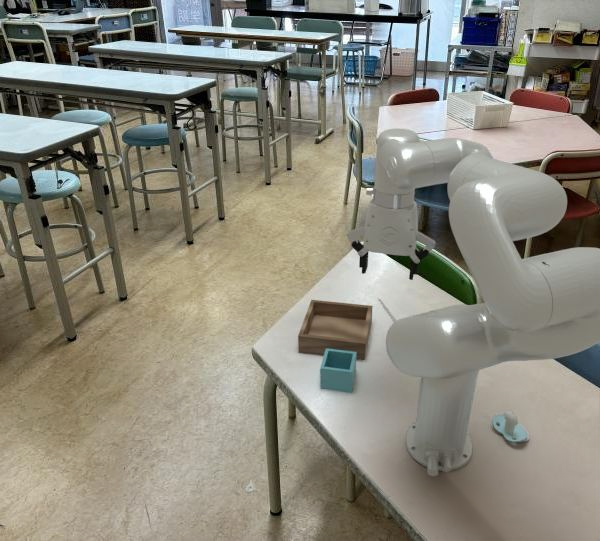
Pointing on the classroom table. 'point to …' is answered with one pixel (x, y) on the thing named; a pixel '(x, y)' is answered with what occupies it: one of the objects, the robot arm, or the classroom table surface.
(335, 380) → the small crate
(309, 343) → the big crate
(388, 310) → the magic wand
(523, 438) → the pacifier
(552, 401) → the classroom table surface
